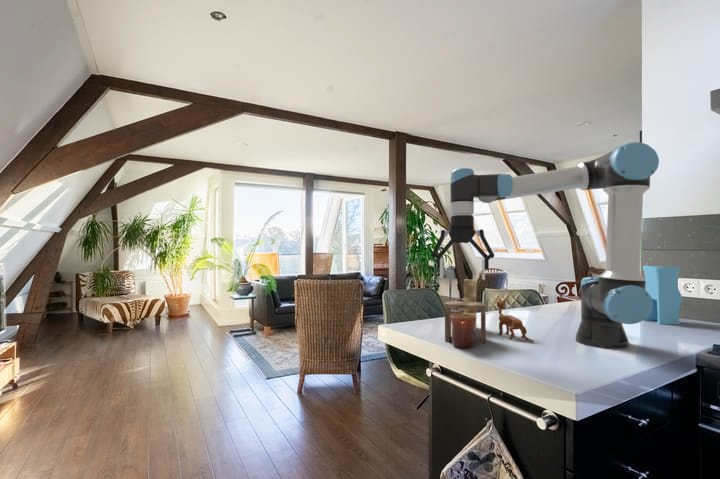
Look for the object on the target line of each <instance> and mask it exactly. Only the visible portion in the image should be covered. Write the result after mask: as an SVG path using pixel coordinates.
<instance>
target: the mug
mask: <svg viewBox="0 0 720 479" xmlns="http://www.w3.org/2000/svg"><path fill="white" fill-rule="evenodd" d="M450 318H451V342H452V346H454V347H456V348H457V349H462V350H463V349H464V350H465V349H466V350H468V349H472V348H473V347H475V343H476V342H475V341H476V337H475V335H476V334H475V333H476V330H475V331H474V326H475V321H476V322H477V319H478V318H477V315H476V316H475V315H471V314H463V313H451V315H450Z"/></svg>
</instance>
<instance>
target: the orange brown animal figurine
mask: <svg viewBox="0 0 720 479" xmlns="http://www.w3.org/2000/svg"><path fill="white" fill-rule="evenodd" d="M496 307H497V308H498V309H499V310H498V313H499V316H498V321H499V322H498V328H499V332H498V334H496V335H497V336H502V335H503V334H504V335H506V334H507V335H509V334H510V336H509V337H508V339H510V340H513V338H514V337H515V332H514V331H516V330H519V331H520V332H521V336H520V338H521V339H525V340H527V341H529V342H532V343H534V342H535V341H534V340H533V339H531V338H529V337H527V336H526V335H527V331H528V330H527V329H526V327H525V325H524V324H523V321H522V320H521V319H520V318H517V317H514V316H513V315H511V314H510V315H509V314H508V315H506V314H503V313H502V311H503V309H505V308H506V299H505V298H504V299H503V300H502V299H501V298H500V297H499V298H498V300H497V301H496ZM503 325H505V327H506V332H505V333H503Z"/></svg>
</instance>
